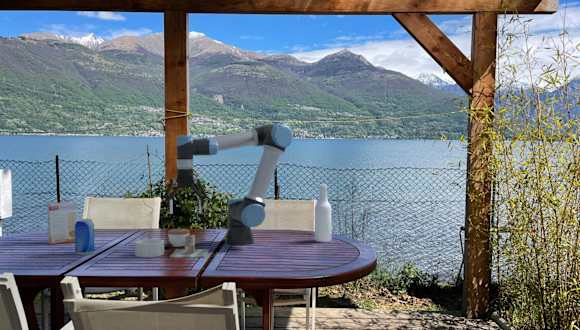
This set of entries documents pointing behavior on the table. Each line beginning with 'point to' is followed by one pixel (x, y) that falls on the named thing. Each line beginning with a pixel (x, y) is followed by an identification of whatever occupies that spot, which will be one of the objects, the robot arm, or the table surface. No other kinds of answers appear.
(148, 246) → the bowl
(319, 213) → the alcohol
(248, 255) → the table surface
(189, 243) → the lid
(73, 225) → the cracker box
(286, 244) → the table surface
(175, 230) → the lidded jar
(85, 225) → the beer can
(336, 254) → the table surface
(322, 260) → the table surface
